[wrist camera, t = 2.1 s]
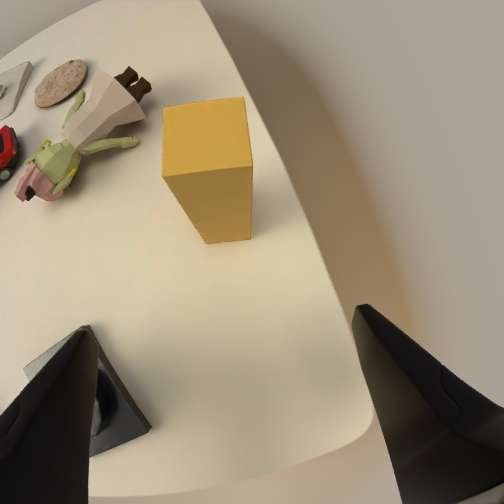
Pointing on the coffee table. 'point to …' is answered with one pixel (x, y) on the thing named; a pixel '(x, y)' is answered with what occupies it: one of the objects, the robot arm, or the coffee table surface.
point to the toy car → (8, 152)
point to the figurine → (85, 133)
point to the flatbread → (60, 83)
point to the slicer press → (104, 403)
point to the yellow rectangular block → (210, 166)
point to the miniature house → (12, 87)
